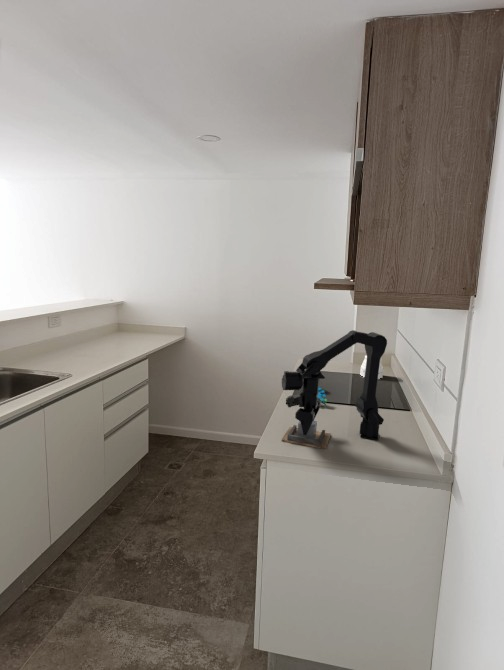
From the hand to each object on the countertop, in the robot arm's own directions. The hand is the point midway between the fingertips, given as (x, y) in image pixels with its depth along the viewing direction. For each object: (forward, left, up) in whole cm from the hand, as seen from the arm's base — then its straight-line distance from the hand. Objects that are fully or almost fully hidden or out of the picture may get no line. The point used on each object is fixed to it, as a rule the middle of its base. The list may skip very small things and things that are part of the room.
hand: (307, 430), depth 156 cm
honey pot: (-18, -104, -3) cm, 106 cm away
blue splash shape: (+4, -39, -3) cm, 39 cm away
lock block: (0, 0, -2) cm, 3 cm away
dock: (0, 0, -3) cm, 3 cm away
